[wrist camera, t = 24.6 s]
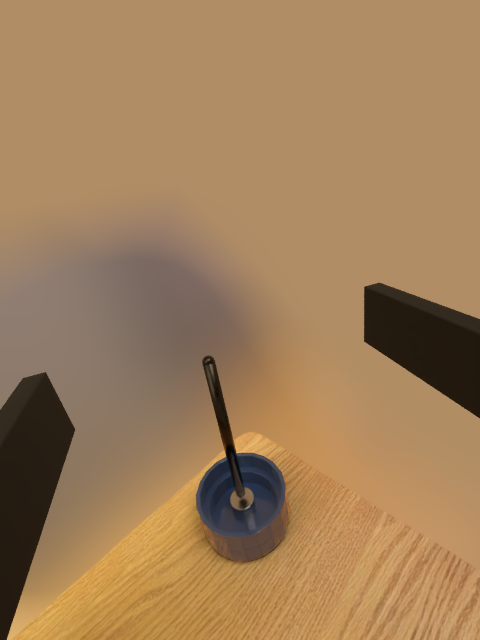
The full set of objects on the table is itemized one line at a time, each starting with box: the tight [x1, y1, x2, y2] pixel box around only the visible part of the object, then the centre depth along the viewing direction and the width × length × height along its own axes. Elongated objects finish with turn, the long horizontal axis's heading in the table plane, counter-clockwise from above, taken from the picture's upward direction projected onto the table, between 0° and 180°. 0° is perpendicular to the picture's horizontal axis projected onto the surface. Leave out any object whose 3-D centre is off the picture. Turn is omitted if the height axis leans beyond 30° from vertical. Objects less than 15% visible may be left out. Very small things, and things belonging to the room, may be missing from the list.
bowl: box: [196, 453, 289, 561], centre depth 38 cm, size 11×11×5 cm
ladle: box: [202, 356, 257, 522], centre depth 34 cm, size 3×3×23 cm
